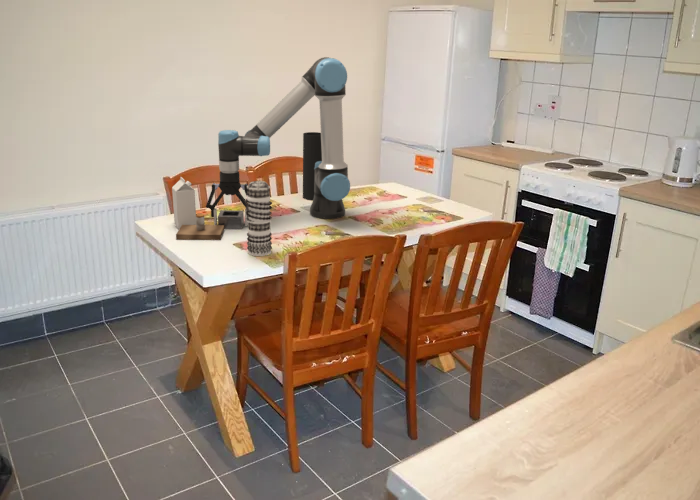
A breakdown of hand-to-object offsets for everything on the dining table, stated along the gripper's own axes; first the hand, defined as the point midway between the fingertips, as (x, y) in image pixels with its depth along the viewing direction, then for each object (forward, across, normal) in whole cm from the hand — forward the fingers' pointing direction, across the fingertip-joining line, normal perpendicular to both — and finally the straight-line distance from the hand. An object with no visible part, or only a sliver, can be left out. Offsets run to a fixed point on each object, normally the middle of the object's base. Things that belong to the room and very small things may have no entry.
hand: (231, 225), depth 241 cm
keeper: (0, +10, +12) cm, 16 cm away
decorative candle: (0, -13, +31) cm, 34 cm away
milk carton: (0, +18, +1) cm, 18 cm away
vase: (0, -33, -46) cm, 57 cm away
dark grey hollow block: (0, 0, 0) cm, 0 cm away
